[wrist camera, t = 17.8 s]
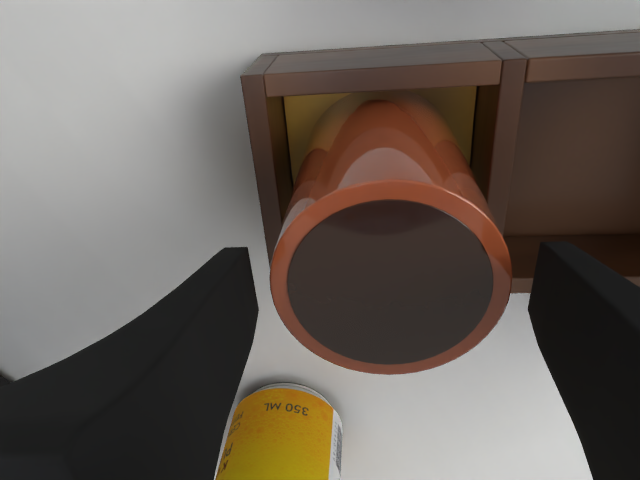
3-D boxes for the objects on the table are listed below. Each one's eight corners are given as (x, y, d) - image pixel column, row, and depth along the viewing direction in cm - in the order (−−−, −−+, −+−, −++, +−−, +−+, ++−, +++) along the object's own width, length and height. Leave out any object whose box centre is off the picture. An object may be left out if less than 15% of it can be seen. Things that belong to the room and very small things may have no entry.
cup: (463, 81, 17) (530, 175, 10) (452, 227, 20) (498, 377, 13) (297, 91, 17) (252, 186, 10) (311, 230, 20) (283, 376, 13)
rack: (740, 22, 16) (828, 40, 13) (666, 240, 20) (718, 292, 17) (261, 53, 17) (239, 75, 14) (286, 248, 22) (273, 296, 19)
